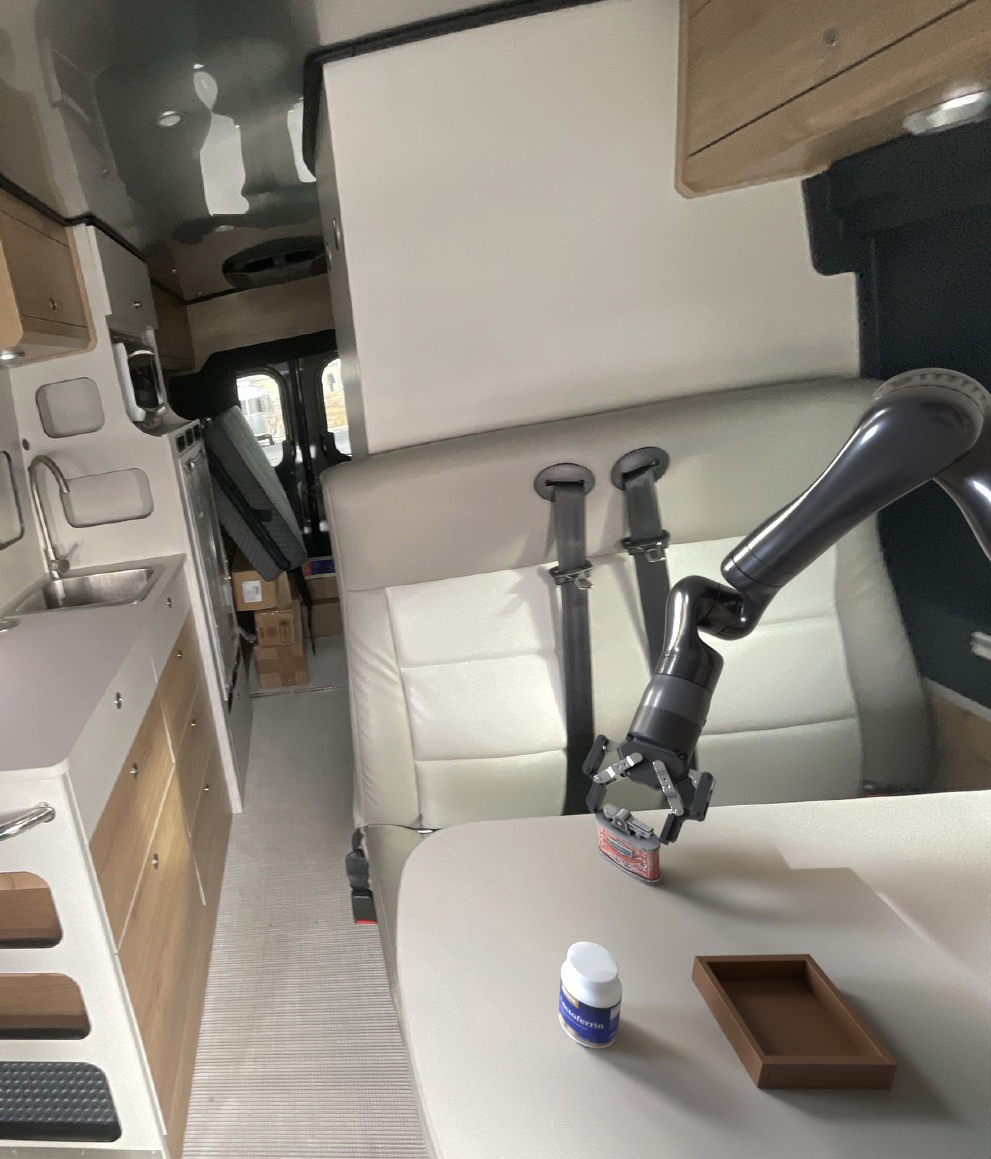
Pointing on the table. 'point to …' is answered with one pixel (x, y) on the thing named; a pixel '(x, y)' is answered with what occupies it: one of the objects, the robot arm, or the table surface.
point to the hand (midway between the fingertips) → (626, 827)
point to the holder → (791, 1023)
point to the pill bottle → (590, 995)
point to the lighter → (628, 844)
